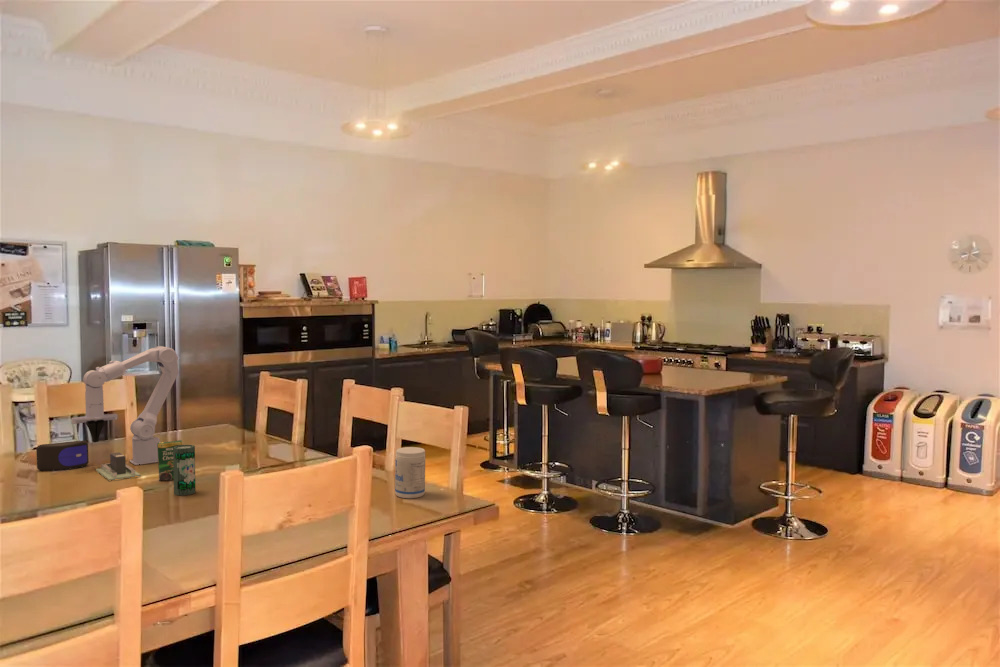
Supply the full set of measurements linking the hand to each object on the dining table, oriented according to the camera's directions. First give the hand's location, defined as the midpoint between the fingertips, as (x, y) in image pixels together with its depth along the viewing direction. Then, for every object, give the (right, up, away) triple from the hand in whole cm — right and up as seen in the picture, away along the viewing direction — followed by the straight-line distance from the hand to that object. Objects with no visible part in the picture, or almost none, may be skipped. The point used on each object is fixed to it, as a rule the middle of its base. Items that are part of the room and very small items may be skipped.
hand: (95, 441), depth 276 cm
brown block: (+12, -10, -7) cm, 16 cm away
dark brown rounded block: (-12, -10, +1) cm, 16 cm away
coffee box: (+33, -11, -13) cm, 37 cm away
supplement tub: (+117, -13, -30) cm, 121 cm away
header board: (+11, -11, -7) cm, 17 cm away
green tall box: (+44, -13, -30) cm, 55 cm away
